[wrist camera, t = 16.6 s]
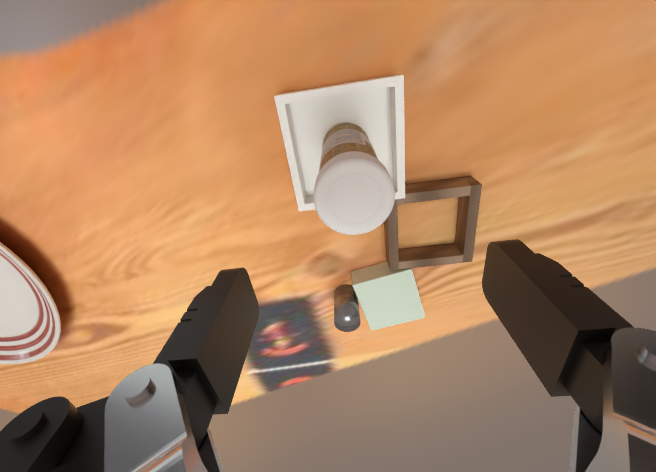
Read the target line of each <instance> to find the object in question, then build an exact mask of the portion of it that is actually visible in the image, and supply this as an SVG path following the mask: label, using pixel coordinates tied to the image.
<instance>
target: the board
mask: <svg viewBox="0 0 656 472" xmlns="http://www.w3.org/2000/svg"><path fill="white" fill-rule="evenodd" d="M351 275H352V285H353V288H354V290H355V293H356V295H357V297H358V300H359V302H360V304H361V307H362V309H363V312H364V314H365V316H366V319H367V321H368V324H369V326H370V328H371V331H372V330H376V329H380V328H384V327H388V326H393V325H397V324H401V323H405V322H409V321H413V320H417V319H422V318H425V314H424V311H423V307H422V304H421V300H420V296H419V293H418V289H417V286H416V282H415V278H414V275H413V271H412V268H406V269H397V270H390V269H389V265H388V262H383V263H379V264H376V265H372V266H369V267H365V268H362V269H358V270H355V271H351Z"/></svg>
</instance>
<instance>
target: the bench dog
mask: <svg viewBox="0 0 656 472" xmlns="http://www.w3.org/2000/svg"><path fill="white" fill-rule="evenodd" d="M334 324H335V326H336V328H337V329H339V330H341V331H344V332H351V331H354V330H356V329H357V328H358V327H359V326H360V314H359V305H358V297H357V295H356V293H355V290H354V288H353V286H350V285H341V286H339V287H338V288H337V289H336V290H335V292H334Z"/></svg>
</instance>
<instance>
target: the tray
mask: <svg viewBox="0 0 656 472" xmlns="http://www.w3.org/2000/svg"><path fill="white" fill-rule="evenodd" d="M274 98H275V102H276V107H277V111H278V116H279V121H280V125H281V130H282V135H283V139H284V144H285V149H286V153H287V158H288V163H289V167H290V172H291V177H292V181H293V186H294V191H295V195H296V200H297V204H298V209H299V211H307V210H315V205H314V187H315V182H316V178H317V175H318V173H319V167H320V160H321V155H322V145H323V140H324V137H325V135H326V134H327V132H328V131H329V130H330V129H331V128H332V127H334V126H335V125H337V124H340V123H346V122H349V123H353V124H356V125H358V126H359V127H361V128H362V129H363V130H364V131H365V132H366V134H367V136H368V139H369V141H370V143H371V144H372V146H373V148H374V150H375V153H376V156H377V158H378V160H379V161H380V162H381V163H382V164H383V165H384V166H385V168H386V169H387V171H388V173H389V175H390V177H391V179H392V181H393V184H394V189H395V199H402V198H405V140H404V75H392V76H386V77H380V78H374V79H368V80H362V81H355V82H349V83H343V84H337V85H331V86H325V87H319V88H313V89H307V90H300V91H294V92H288V93H282V94H278V95H276V96H274Z"/></svg>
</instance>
